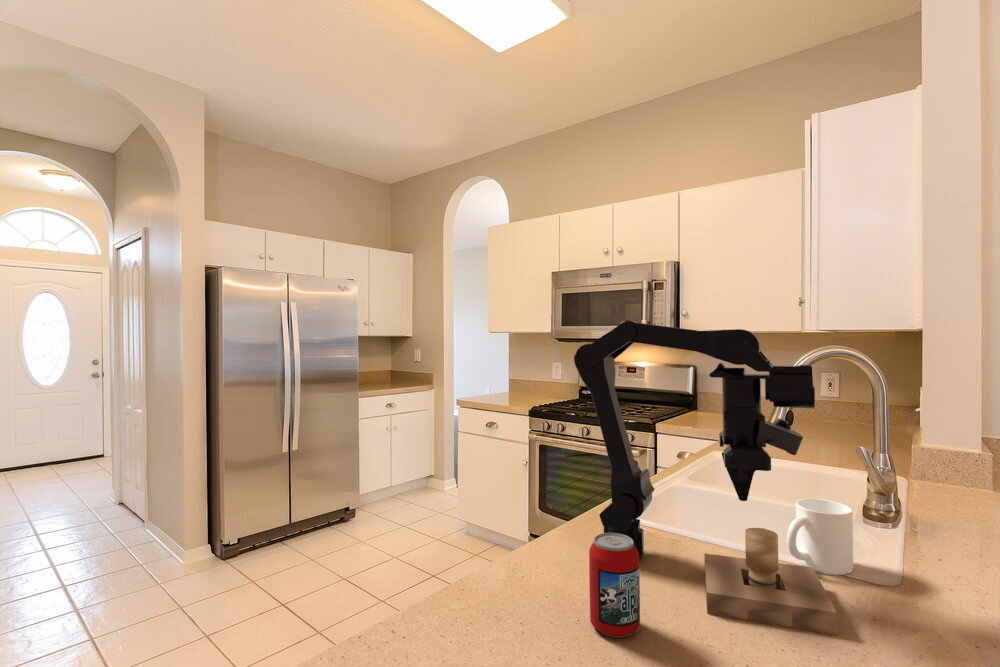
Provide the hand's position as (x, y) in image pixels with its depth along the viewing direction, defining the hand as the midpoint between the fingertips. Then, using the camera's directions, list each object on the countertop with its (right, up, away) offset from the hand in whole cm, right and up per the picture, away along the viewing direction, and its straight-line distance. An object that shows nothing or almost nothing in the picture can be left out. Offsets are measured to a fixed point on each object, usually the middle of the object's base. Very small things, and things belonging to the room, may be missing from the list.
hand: (743, 500), depth 83 cm
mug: (+15, -13, +4) cm, 20 cm away
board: (0, -13, -6) cm, 14 cm away
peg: (0, -13, -6) cm, 14 cm away
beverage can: (-24, -13, -13) cm, 31 cm away
